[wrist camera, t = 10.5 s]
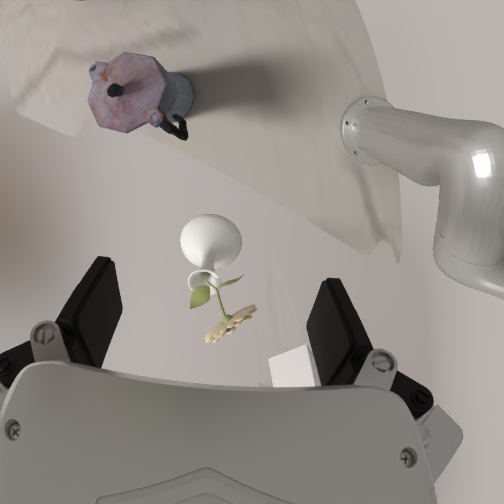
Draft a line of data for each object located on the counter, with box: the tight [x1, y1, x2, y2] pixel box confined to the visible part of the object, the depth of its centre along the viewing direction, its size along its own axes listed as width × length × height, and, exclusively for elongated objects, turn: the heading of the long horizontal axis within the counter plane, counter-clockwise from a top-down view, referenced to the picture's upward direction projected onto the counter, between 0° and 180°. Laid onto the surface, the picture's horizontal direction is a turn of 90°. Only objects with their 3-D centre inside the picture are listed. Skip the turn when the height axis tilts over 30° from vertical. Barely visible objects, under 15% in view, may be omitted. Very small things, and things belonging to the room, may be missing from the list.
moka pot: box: [88, 52, 194, 141], centre depth 29 cm, size 10×15×20 cm, turn 50°
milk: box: [268, 344, 321, 387], centre depth 63 cm, size 12×12×26 cm
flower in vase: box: [180, 214, 257, 343], centre depth 40 cm, size 13×11×25 cm
